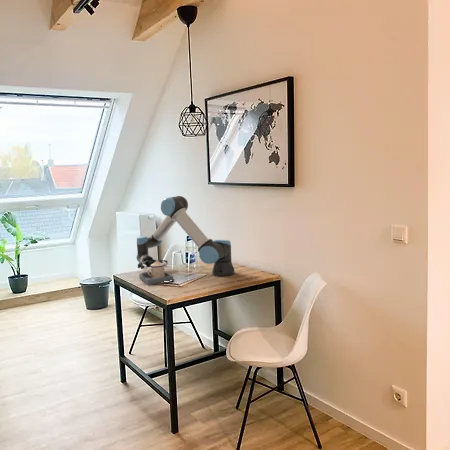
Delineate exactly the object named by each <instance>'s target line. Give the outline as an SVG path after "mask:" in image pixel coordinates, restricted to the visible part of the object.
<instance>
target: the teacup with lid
mask: <svg viewBox="0 0 450 450" xmlns="http://www.w3.org/2000/svg"><path fill="white" fill-rule="evenodd" d="M164 271H165V266H164V264H163V263H161V262H159V261H156V262H155V263H153V264H151V267H150V268H149V269H147V273H148V275H149V276H152V279H154V278H161V277H165V272H164ZM149 272H151V275H150V274H149Z"/></svg>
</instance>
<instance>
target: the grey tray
mask: <svg viewBox="0 0 450 450" xmlns="http://www.w3.org/2000/svg"><path fill="white" fill-rule="evenodd" d="M164 272H165V277H161V278H154V279H152V276H149V275H148V272H143V273H139V275H138V276H139V280H140V281H141V282H143V284H145V285H147V286H152V285H159V284H162V283H161V282H164V281H170V280H174V275H172V274H170V273H169V272H167V271H166V270H164ZM149 274H150V275H151V271H149Z"/></svg>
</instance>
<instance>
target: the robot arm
mask: <svg viewBox="0 0 450 450" xmlns="http://www.w3.org/2000/svg"><path fill="white" fill-rule="evenodd" d="M188 207H189V202H188V200H187V199H186V197H184V196H181V195H177V196H168V197H165V198H164V199H162V201H161V203H160V211H161V213H162V214H163V215H164V216H165V218H164V219H163V220H162V222H161V223H160V224H159V225H158V227H157V228H156V229H155V230H154V232H153V233H152V234H151V235H150V237H148V236H146V235H141V236H137V238H136V249H137V251H136V252H137V255H136V260H137V262H138V264H137V269H140V270H143V269H144V270H145V271H148V268H151V264H153V263H155V262H156V261H159V262H161V263H163V264H164V268H167V267H168V264H169V263H168V260H165V259H159V258H158V259H154V258H153V257H152V256H151V255H149V249H151V248H155V247H158V246H160V245H161V244H162V242H163V238H165V236H166V235H167V234H168V232H169V231H170V230H171V229H172V227H173V226H174V225H175V224H176V223H177V224H178V225H179V226H180V227H181V229H182V230H183V231H184V232H185V234H186V235H187V236H188V237H189V238H190V240H191V241H192V242H193V243H194V244H195V246H197V252H198V255H199V256H198V257H199V259H200V260H201V262H203V263H204V264H208V265H211V264H213V267H212V270H211V271H212V272H211V273H212V275H213V276H215V277H228V276H233V275H234V274H235V273H236V272H235V268H234V265H233V263H232V244H231V240H227V239H214V240H213V239H212V238H208V236H206V234H205V233H204V232H203V231H202V229H200V227H199V226H198V225H197V224H196V222H195V221H194V220H193V219H192V218H191V216H190V215H188V213H187V210H188Z"/></svg>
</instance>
